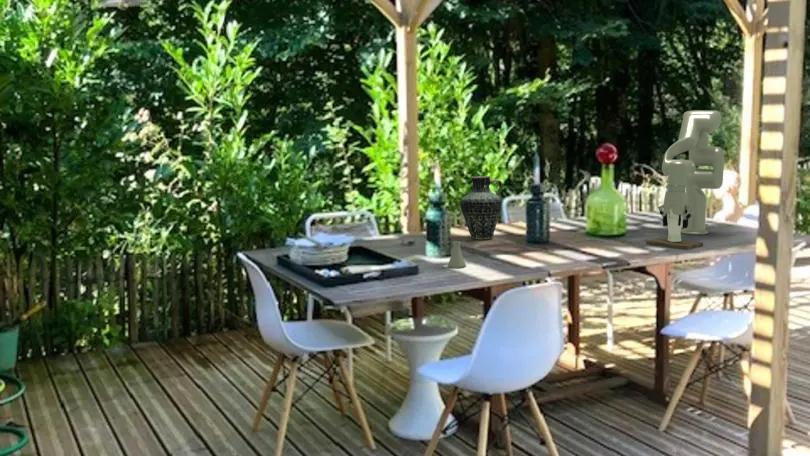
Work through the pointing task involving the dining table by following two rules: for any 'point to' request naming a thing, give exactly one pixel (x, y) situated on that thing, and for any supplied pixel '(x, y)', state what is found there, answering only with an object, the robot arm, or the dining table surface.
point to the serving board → (675, 243)
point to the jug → (482, 208)
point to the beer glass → (674, 227)
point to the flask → (456, 257)
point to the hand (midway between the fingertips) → (675, 226)
